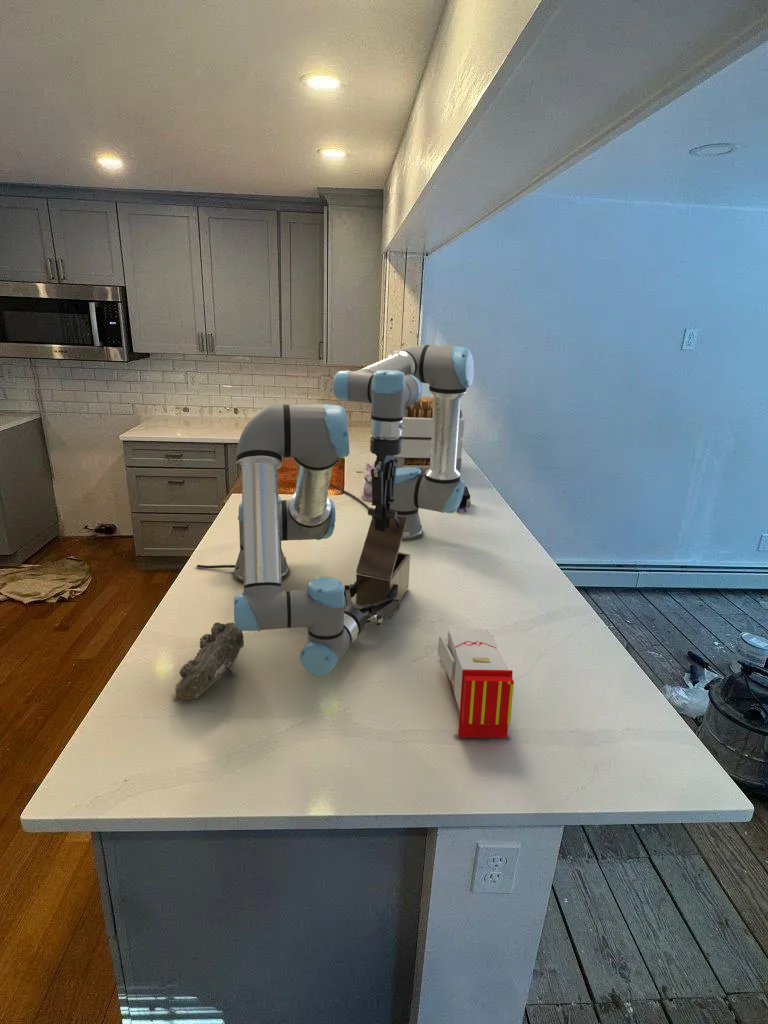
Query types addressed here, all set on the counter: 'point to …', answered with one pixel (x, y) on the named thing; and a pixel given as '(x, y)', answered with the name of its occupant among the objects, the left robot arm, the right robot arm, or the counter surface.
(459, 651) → the toy
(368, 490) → the figurine
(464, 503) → the figurine character
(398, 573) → the chest
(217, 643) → the fossil
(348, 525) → the counter surface
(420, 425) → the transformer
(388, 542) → the lid
